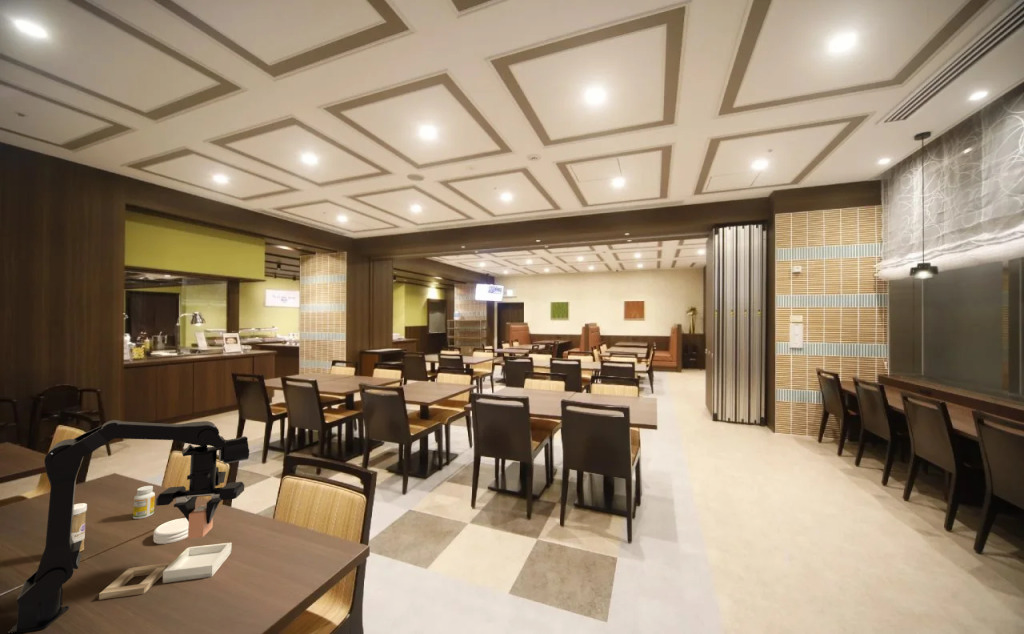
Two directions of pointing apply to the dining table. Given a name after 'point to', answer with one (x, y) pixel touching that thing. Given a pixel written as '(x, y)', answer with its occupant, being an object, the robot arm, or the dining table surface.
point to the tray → (197, 562)
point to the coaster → (171, 531)
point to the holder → (120, 590)
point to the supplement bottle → (143, 502)
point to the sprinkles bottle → (79, 524)
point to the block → (198, 522)
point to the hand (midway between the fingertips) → (200, 523)
